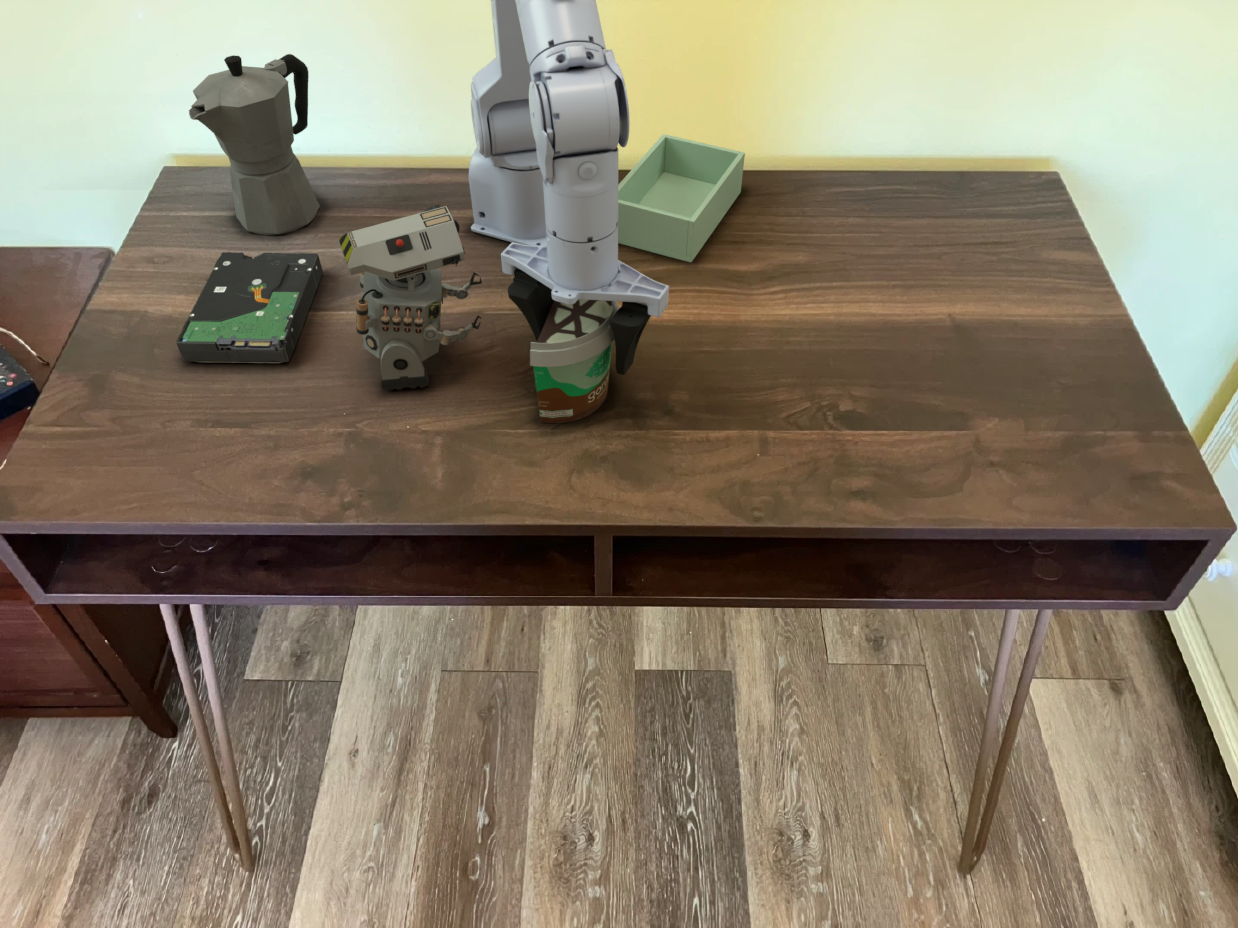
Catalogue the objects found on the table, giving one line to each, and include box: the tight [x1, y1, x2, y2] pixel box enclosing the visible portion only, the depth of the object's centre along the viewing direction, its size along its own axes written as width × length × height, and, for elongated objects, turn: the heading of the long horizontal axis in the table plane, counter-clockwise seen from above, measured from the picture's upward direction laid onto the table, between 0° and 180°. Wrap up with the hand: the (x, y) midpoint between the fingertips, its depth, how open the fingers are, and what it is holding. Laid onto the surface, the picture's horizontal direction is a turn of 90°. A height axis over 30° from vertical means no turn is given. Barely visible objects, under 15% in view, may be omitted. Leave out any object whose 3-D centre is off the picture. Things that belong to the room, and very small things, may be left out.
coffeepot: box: [188, 53, 321, 236], centre depth 101 cm, size 15×9×18 cm, turn 149°
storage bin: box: [618, 133, 746, 263], centre depth 105 cm, size 10×16×5 cm, turn 155°
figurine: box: [337, 204, 483, 392], centre depth 85 cm, size 9×12×15 cm
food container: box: [529, 299, 620, 424], centre depth 83 cm, size 12×6×10 cm, turn 167°
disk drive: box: [175, 251, 324, 364], centre depth 93 cm, size 10×3×15 cm
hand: (585, 355), depth 83 cm, fingers open, 7 cm apart
